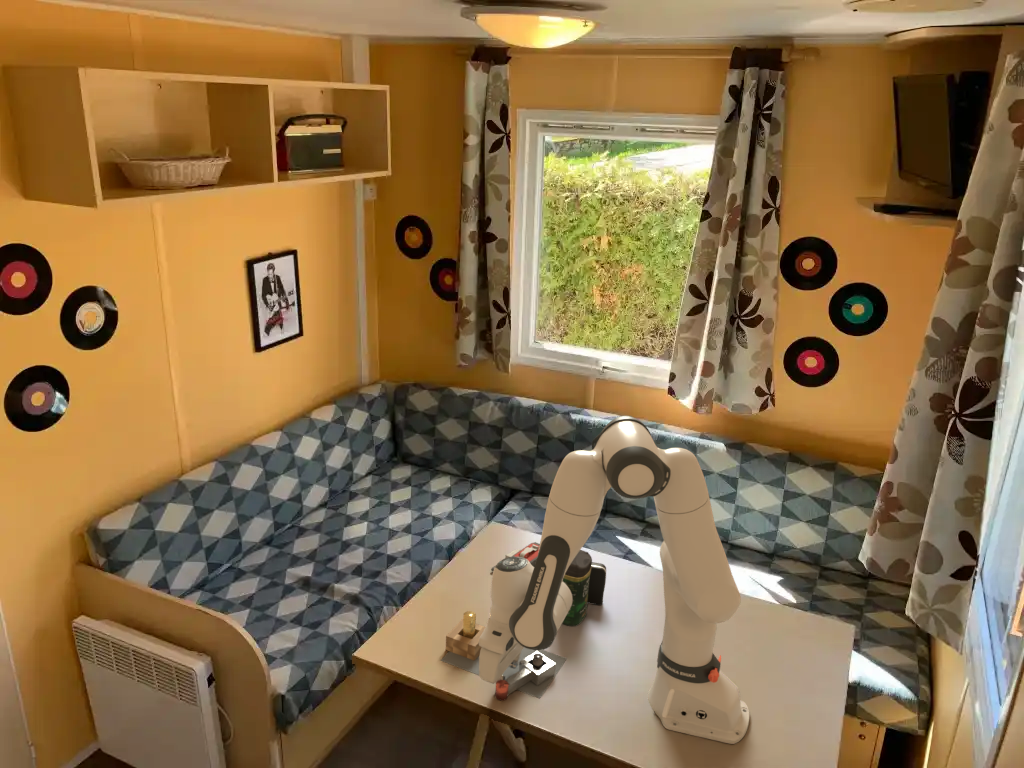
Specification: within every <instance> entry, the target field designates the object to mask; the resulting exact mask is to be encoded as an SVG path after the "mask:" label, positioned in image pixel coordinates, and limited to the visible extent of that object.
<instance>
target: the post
mask: <svg viewBox="0 0 1024 768" xmlns="http://www.w3.org/2000/svg"><path fill="white" fill-rule="evenodd" d="M532 666H534V667H535V668H537V669H539V668H541V667H542V666H543V655H542V654H540V653H536V654H534V655H533V662H532Z"/></svg>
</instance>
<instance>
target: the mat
mask: <svg viewBox="0 0 1024 768" xmlns="http://www.w3.org/2000/svg"><path fill="white" fill-rule="evenodd" d="M536 651H538V652H539V653H541V654H542V655H544V656H545V657H547V658H548V659H550V660H551V661H553V662H554V663H556V666H555V674H554V675H553V676H551V677H550V678H548V679H547V680H545V681H544V682H542V683H540V684H539V685H536V684H534V683H533V682H531V681H529V682H527V683H526V684H524V685H523V686H521V687H519V688H518V689H516V690H517V691H519V692H522V693H524V694H526V695H527V694H528V695H530V696H532V697H535V698H538V699H541V698H542V696H543V695H544V693H545V692H546V691H547V688H549V686H550V684H551V683H552V682H553V680H554V679H555V677H556V675H557V674H558V673H559V671H560V670H561V668H562V667H563V665H564V663H565V662H566V661H567V659H568V658H567V657H565V656H564V657H563V656H561V655H558V654H555V653H553V652H550V651H547V650H546V649H544V650H530V649H527V648H525V647H524V648H523V649H522V651H521V654H520V657H519V660H518V666H517V667H516V668H515V669H513V668H510V667H508V668H507V669H506V670H505V671H504V673H503V674H502V675H503V676H505V679H507V678H509V677H510V676H512V675H514V674H515V673H517V672H518V671H519V662H520V661H522V660H523V659H525V658H526V657H528V656H530V655H531V654H533V653H535V652H536ZM479 656H480V655H479ZM479 656H478V657H477V658H476V659H475V661H474V660H472V659H469V658H466V657H463V656H461V655H458V654H455V653H453V652H450V651H448V652H447V653H446V654H445V655H444V656H443V657H442V659H441V660H440V661H441V662H443V663H446V664H448V665H452V666H454V667H456V668H459V669H462V670H463V671H464V670H465V671H467V672H470V673H472V674H475V675H478V676H480V675H479ZM516 690H515V691H516Z"/></svg>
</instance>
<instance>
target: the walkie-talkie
mask: <svg viewBox="0 0 1024 768" xmlns="http://www.w3.org/2000/svg"><path fill="white" fill-rule="evenodd" d="M539 546H540V542H536V541H535V542H531V543H530V544H528V545H526V546H524V547H523V548H521V549H520V548H519V549H514V550H512V551H511V552H509V553H507V554H505V558H508V557H512V556H518V557H523V558H525V559H527V560H528V561H529V562H530V563H531V565H532V566H533V567H534V566H535V563H536V559H537V556H538V551H539ZM505 558H504V559H505ZM495 566H496V565H494V566H493V567H491V569H490V570H491V571H492V572H493V571H494V568H495Z"/></svg>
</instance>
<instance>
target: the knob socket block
mask: <svg viewBox="0 0 1024 768" xmlns="http://www.w3.org/2000/svg"><path fill="white" fill-rule="evenodd" d="M536 653H539V652H538V651H536V652H535V653H533V654H531V655H530V656H528V657H526V658H525V659H523V660H522V661H520V662H519V671H518V672H517V673H515V674H514V675H512V676H510V677H509V678H507V679H505V680H499V681H497V682H496V683H495V692H494V693H495V695H494V696H495V698H496V699H497V700H499V701H505V700H507V699H508V697H509V696H508V695H510V694H511V693H513V692H514V691H516V689H518V688H519V687H521V686H523V685H524V684H526V683H527V682H529V681H531V682H533V683H534V684H536V685H539V684H540V683H542V682H544V681H545V680H547V679H548V678H550V677H551V676H553V675H554V674H555V666H556V663H554V662H553V661H551V660H550V659H548V658H547V657H545V656H544V655H543V666H542V667H541V668H539V669H537V668H535V667H534V666H532V662H533V655H534V654H536ZM540 654H541V653H540Z"/></svg>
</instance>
